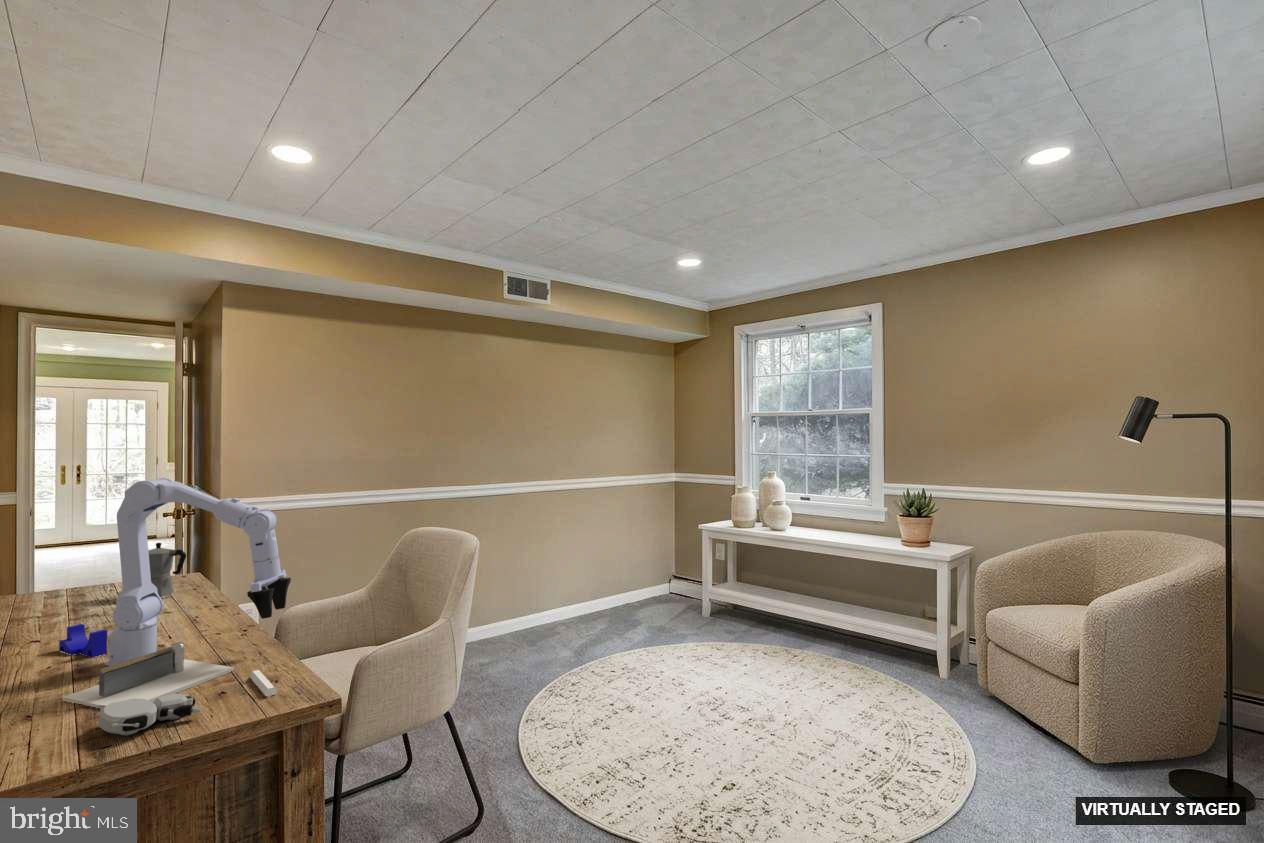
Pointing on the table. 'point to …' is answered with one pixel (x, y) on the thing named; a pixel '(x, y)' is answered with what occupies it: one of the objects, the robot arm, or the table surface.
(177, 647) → the gate post
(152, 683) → the gate board
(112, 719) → the robot toy
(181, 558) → the coffeepot
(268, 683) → the marker
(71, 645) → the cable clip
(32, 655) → the table surface
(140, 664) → the gate
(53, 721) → the table surface
